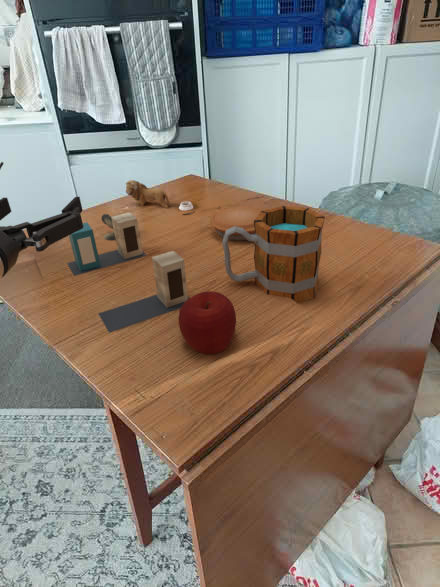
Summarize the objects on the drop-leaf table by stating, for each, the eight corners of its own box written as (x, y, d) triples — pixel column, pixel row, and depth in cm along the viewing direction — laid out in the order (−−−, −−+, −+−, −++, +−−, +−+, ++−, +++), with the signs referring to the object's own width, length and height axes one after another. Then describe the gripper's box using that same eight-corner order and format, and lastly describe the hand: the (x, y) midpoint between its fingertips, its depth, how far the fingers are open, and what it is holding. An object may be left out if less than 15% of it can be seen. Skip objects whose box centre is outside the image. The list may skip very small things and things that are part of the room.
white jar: (193, 216, 122) (196, 209, 126) (192, 206, 121) (196, 200, 125) (176, 215, 123) (180, 209, 127) (175, 206, 122) (179, 199, 126)
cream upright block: (157, 297, 85) (151, 257, 80) (177, 290, 87) (173, 250, 82) (167, 308, 81) (162, 267, 76) (188, 300, 83) (184, 259, 78)
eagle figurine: (136, 227, 115) (103, 222, 114) (134, 212, 108) (98, 206, 108) (130, 252, 111) (96, 246, 111) (127, 238, 105) (91, 232, 105)
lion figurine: (126, 212, 127) (121, 183, 122) (132, 206, 131) (127, 177, 126) (174, 214, 124) (171, 184, 120) (178, 207, 129) (176, 177, 124)
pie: (278, 239, 107) (279, 221, 105) (218, 248, 105) (217, 230, 102) (258, 217, 120) (259, 199, 117) (205, 224, 117) (203, 207, 115)
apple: (170, 354, 72) (164, 306, 67) (202, 324, 79) (198, 278, 74) (218, 373, 68) (215, 323, 62) (247, 340, 75) (246, 292, 69)
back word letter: (118, 252, 102) (111, 216, 97) (135, 247, 104) (129, 212, 99) (124, 259, 99) (118, 223, 94) (143, 254, 101) (137, 218, 96)
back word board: (68, 268, 99) (66, 262, 99) (137, 249, 106) (136, 244, 105) (75, 281, 94) (74, 275, 93) (147, 261, 101) (146, 255, 100)
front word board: (99, 319, 82) (97, 313, 81) (180, 293, 88) (179, 287, 88) (110, 339, 76) (108, 332, 76) (195, 309, 83) (194, 303, 82)
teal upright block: (75, 263, 98) (66, 227, 93) (95, 258, 100) (87, 222, 95) (80, 271, 95) (71, 234, 90) (100, 266, 97) (92, 229, 92)
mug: (311, 268, 95) (316, 204, 86) (327, 302, 83) (334, 232, 75) (222, 274, 94) (219, 209, 86) (226, 309, 83) (223, 238, 75)
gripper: (-92, 282, 63) (-15, 223, 81) (71, 283, 61) (113, 222, 79) (-116, 236, 59) (-30, 185, 77) (58, 235, 57) (105, 183, 75)
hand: (43, 204), depth 78 cm, fingers open, 13 cm apart
